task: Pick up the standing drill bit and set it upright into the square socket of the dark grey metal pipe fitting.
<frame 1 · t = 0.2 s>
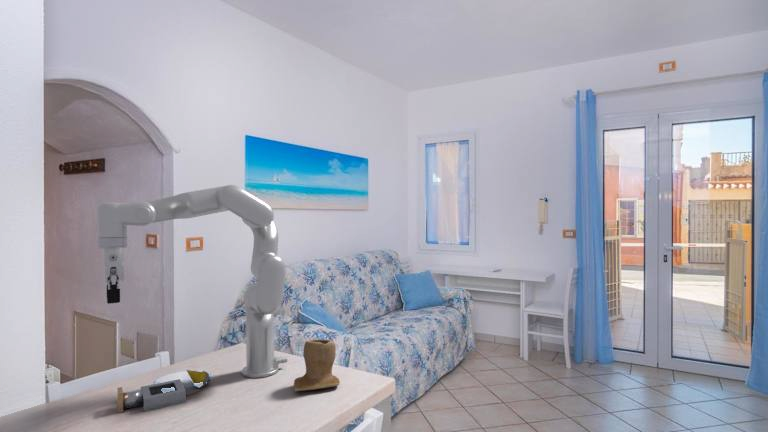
hand: (113, 300, 131), 31 cm above the table, fingers open, 9 cm apart
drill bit: (199, 388, 141), on the table
brown hollow boot figurine: (315, 386, 142), on the table
fitting: (163, 400, 132), on the table
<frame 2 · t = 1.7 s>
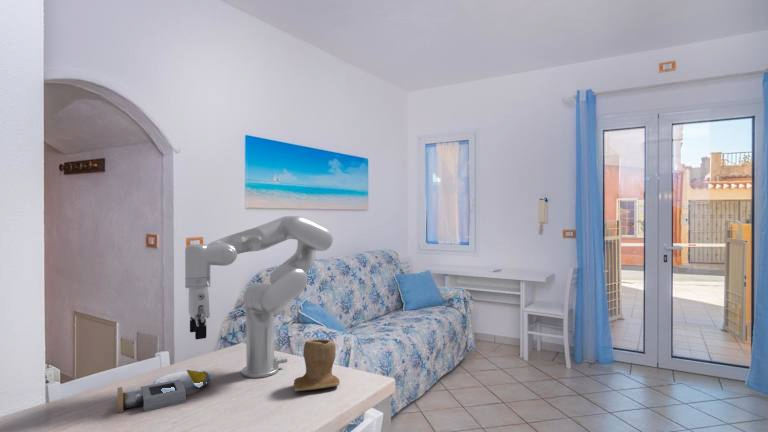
hand: (197, 335, 141), 17 cm above the table, fingers open, 9 cm apart
nothing on the table moved.
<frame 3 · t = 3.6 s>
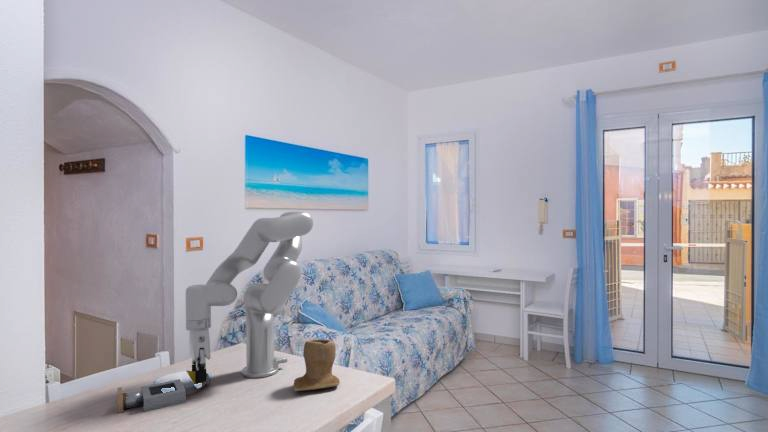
hand: (199, 378, 141), 3 cm above the table, fingers open, 5 cm apart
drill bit: (199, 389, 141), on the table, touching gripper
everything else where it was.
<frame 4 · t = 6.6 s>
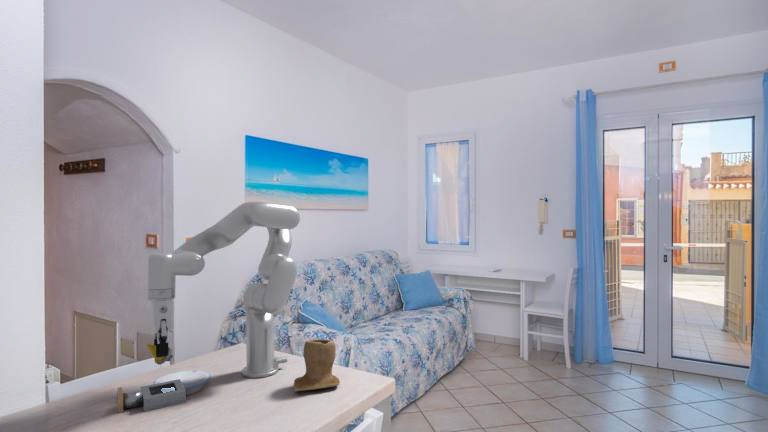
hand: (160, 353, 132), 14 cm above the table, fingers closed on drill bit, 5 cm apart
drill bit: (160, 364, 131), point 11 cm above the table, touching gripper
everything else where it was.
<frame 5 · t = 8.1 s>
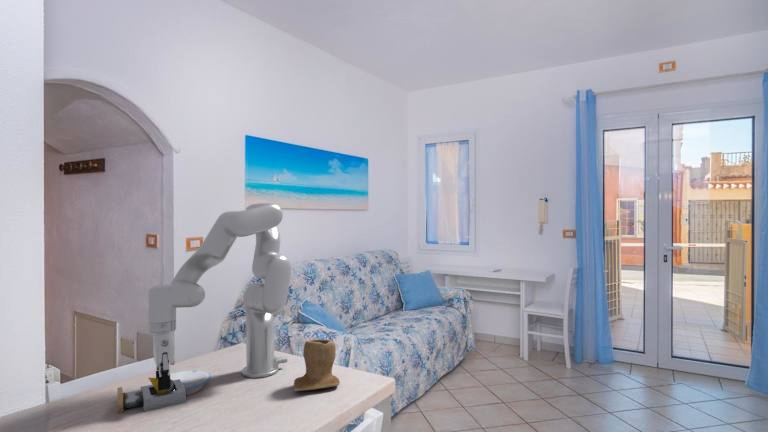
hand: (163, 385, 132), 4 cm above the table, fingers closed on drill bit, 5 cm apart
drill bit: (162, 397, 131), point 1 cm above the table, touching gripper
everything else where it was.
when the fingers open (4 cm above the table, at t = 9.1 s): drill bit drops 1 cm, resting on fitting.
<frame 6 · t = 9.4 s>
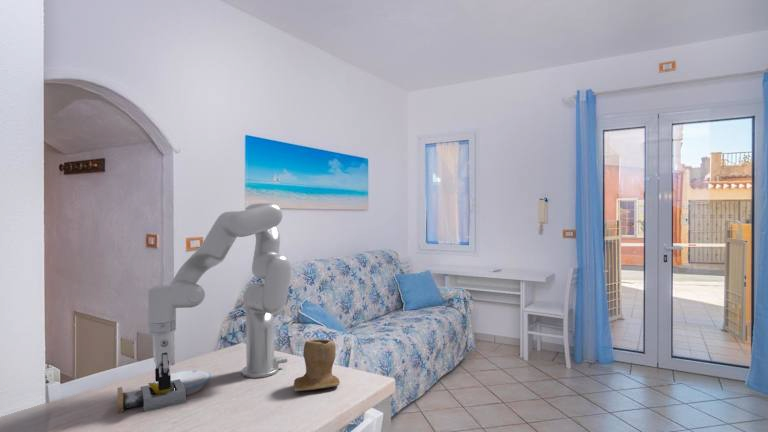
hand: (162, 384, 132), 5 cm above the table, fingers open, 7 cm apart
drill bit: (163, 401, 131), resting on fitting
everything else where it was.
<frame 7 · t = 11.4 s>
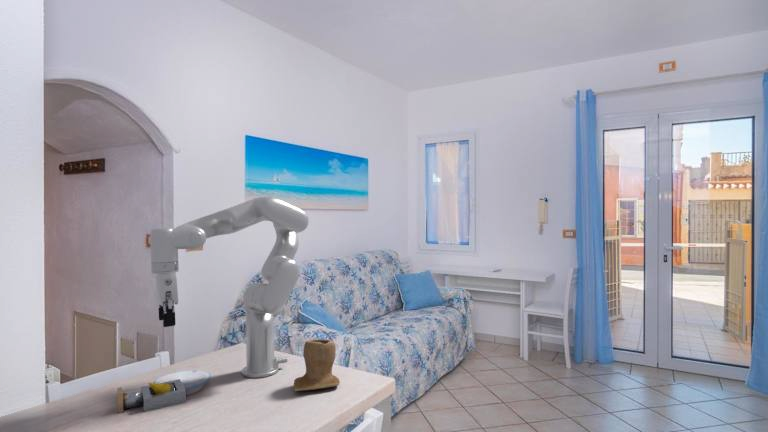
hand: (167, 322, 134), 23 cm above the table, fingers open, 9 cm apart
nothing on the table moved.
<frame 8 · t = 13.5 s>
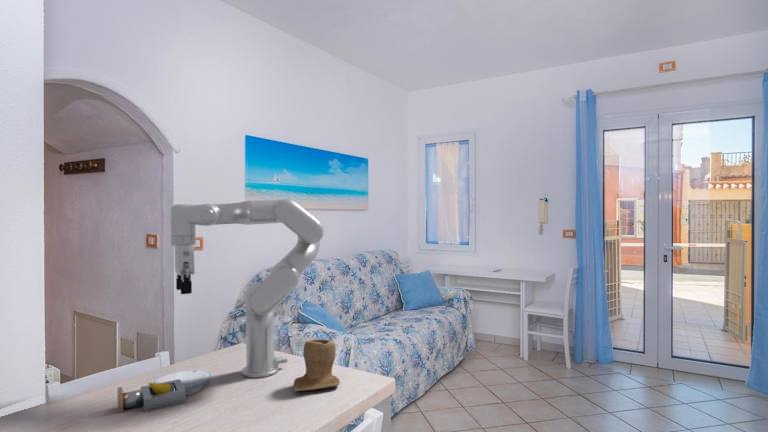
hand: (183, 291, 147), 30 cm above the table, fingers open, 9 cm apart
nothing on the table moved.
at the end: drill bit 0.7 cm off-centre on the fitting, point 0.0 cm above the fitting's base; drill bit tilted 3°; the gripper is holding nothing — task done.
